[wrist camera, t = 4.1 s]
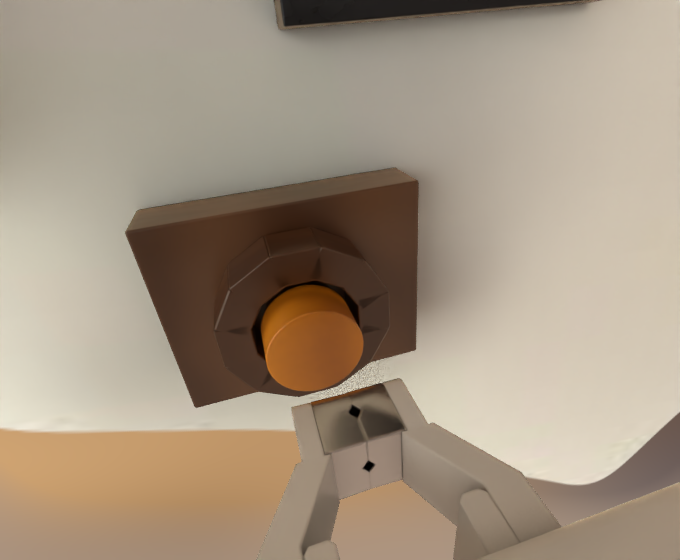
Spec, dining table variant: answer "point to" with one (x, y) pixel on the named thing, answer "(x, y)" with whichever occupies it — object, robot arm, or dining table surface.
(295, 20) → the switch bracket
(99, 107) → the dining table surface
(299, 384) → the button
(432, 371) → the dining table surface
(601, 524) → the robot arm
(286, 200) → the button block
